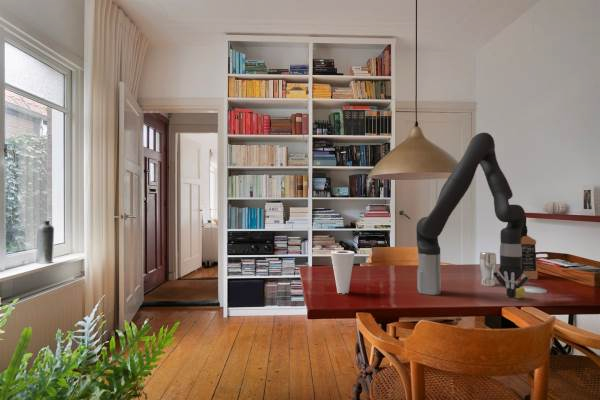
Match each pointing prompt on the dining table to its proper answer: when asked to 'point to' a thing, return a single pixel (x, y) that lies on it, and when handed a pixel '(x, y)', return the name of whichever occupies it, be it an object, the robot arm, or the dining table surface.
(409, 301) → the dining table surface
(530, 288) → the disc
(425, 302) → the dining table surface
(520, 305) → the dining table surface
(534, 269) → the whiskey bottle
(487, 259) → the beer glass
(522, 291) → the ball
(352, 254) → the cup
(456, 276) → the dining table surface
